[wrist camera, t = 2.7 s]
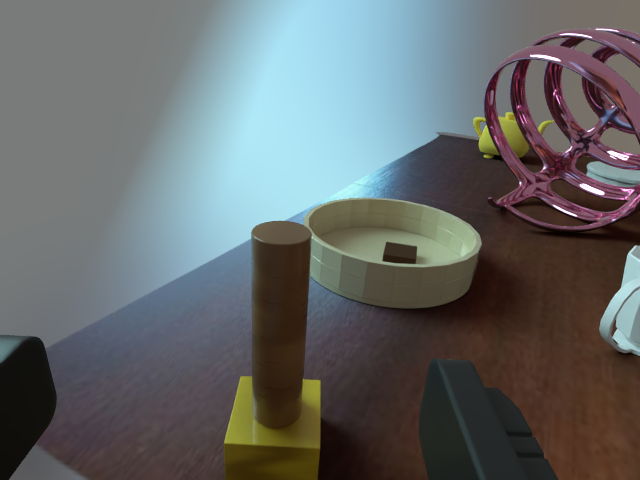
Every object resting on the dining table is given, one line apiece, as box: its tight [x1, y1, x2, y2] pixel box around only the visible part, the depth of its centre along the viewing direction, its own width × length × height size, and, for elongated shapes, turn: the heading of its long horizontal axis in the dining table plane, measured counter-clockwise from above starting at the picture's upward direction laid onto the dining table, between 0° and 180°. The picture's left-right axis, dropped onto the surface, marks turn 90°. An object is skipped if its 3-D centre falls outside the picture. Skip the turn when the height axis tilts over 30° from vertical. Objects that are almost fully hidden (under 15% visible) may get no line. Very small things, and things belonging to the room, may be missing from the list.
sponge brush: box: [224, 221, 321, 480], centre depth 23 cm, size 5×5×14 cm
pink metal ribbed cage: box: [484, 27, 640, 233], centre depth 61 cm, size 28×28×27 cm
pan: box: [304, 198, 482, 308], centre depth 48 cm, size 19×19×4 cm
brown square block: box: [382, 242, 417, 264], centre depth 48 cm, size 4×4×1 cm
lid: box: [587, 162, 640, 187], centre depth 86 cm, size 17×20×3 cm
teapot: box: [473, 112, 554, 158], centre depth 104 cm, size 18×11×11 cm, turn 62°
